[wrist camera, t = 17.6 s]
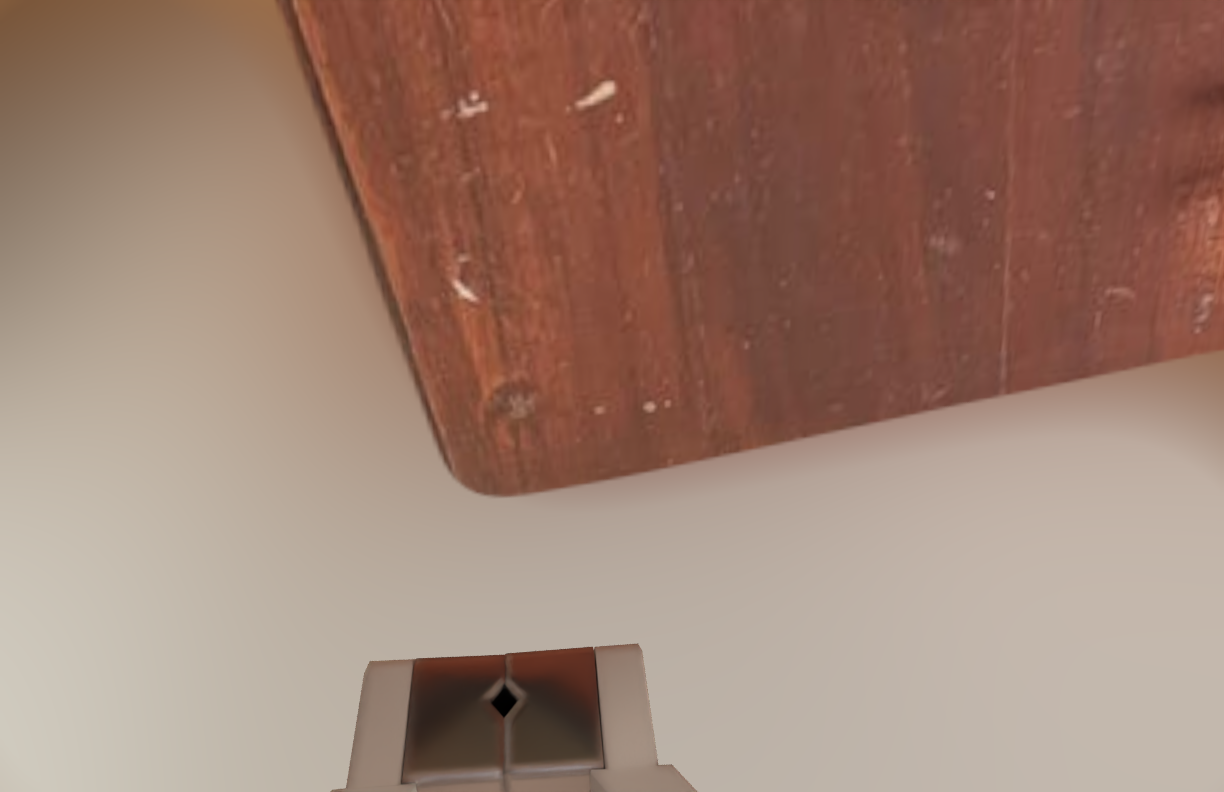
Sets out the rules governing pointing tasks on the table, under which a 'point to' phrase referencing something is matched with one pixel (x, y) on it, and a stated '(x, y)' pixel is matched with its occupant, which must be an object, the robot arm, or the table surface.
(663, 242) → the table surface
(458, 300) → the table surface
